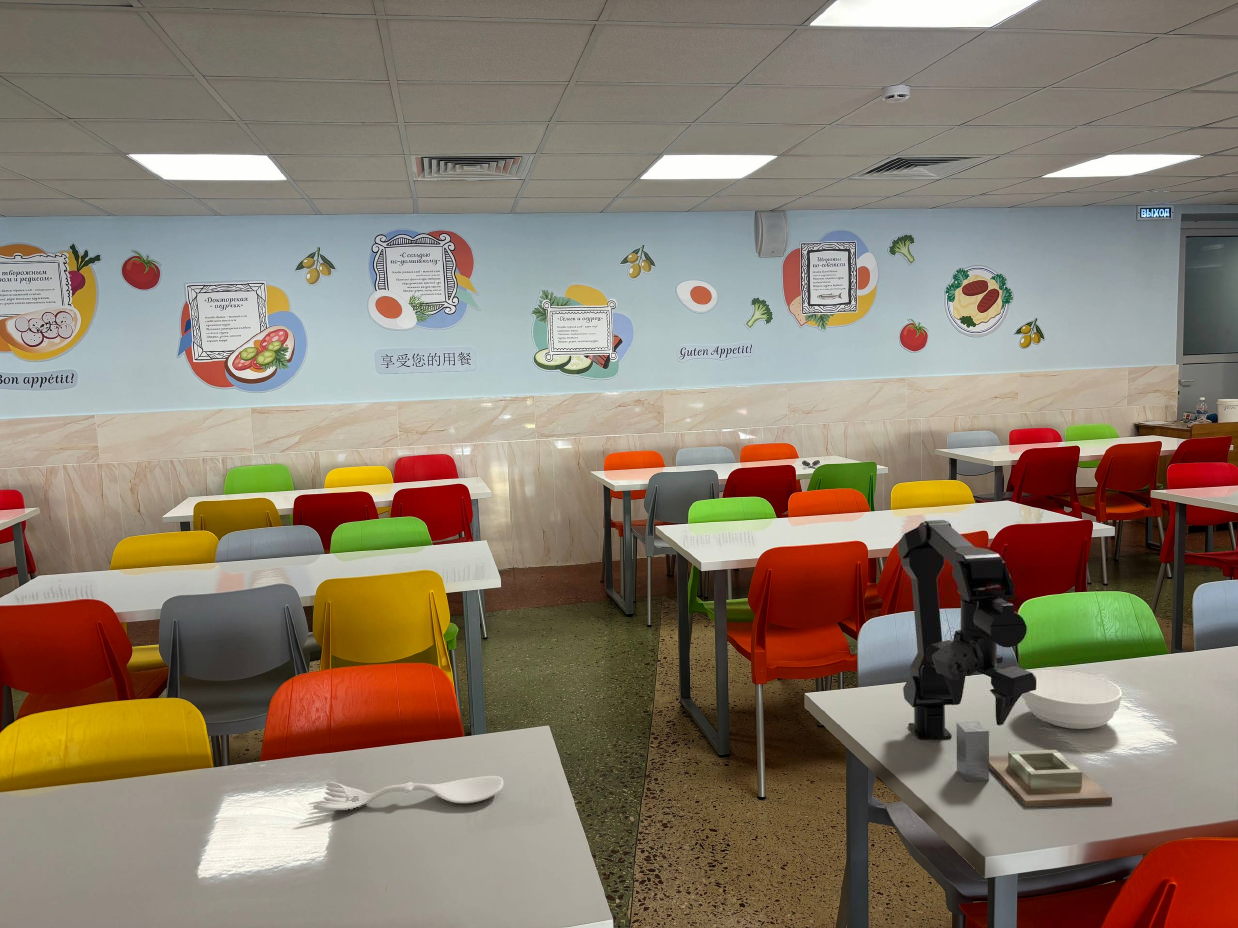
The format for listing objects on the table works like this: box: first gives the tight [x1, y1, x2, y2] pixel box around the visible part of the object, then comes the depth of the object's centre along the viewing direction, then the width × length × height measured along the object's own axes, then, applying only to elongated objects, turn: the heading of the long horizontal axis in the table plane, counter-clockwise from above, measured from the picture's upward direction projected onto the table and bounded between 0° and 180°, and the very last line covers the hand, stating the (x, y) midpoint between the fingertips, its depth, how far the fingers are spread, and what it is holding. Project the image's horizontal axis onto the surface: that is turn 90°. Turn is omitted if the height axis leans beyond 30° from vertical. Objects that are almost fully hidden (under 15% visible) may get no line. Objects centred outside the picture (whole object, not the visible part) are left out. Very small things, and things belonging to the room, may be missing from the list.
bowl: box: [1020, 669, 1123, 730], centre depth 165 cm, size 18×18×7 cm
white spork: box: [313, 775, 505, 812], centre depth 145 cm, size 9×32×4 cm, turn 94°
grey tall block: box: [956, 721, 990, 782], centre depth 144 cm, size 4×4×9 cm
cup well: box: [989, 749, 1113, 808], centre depth 141 cm, size 16×14×4 cm
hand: (977, 714), depth 140 cm, fingers open, 9 cm apart
